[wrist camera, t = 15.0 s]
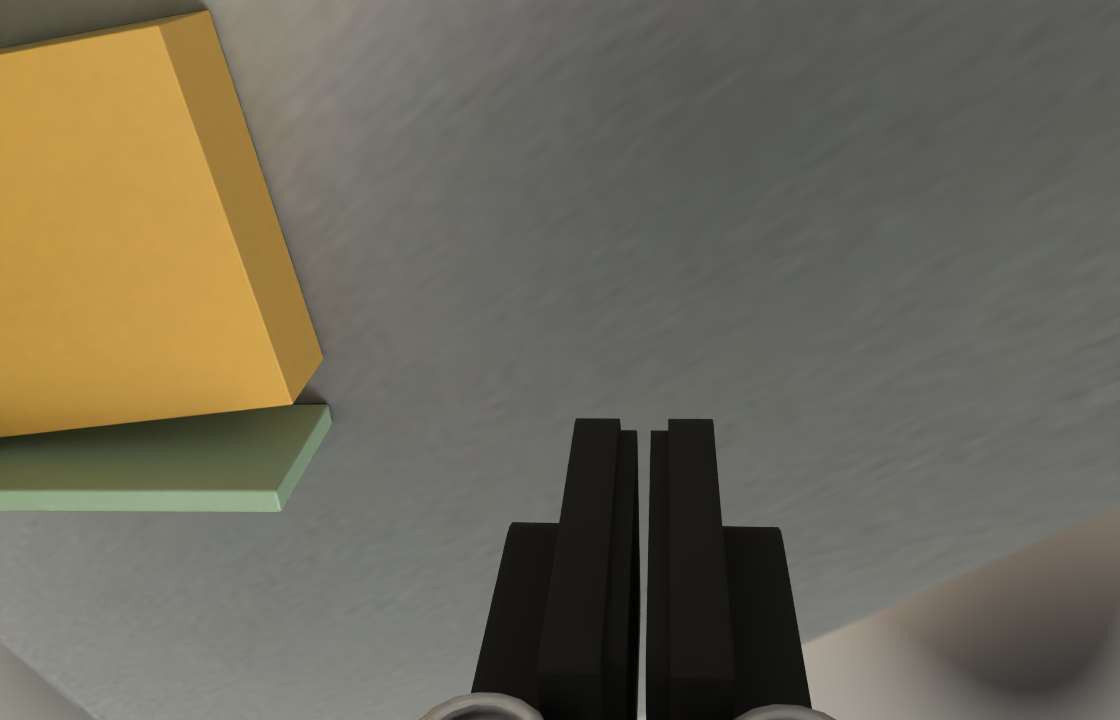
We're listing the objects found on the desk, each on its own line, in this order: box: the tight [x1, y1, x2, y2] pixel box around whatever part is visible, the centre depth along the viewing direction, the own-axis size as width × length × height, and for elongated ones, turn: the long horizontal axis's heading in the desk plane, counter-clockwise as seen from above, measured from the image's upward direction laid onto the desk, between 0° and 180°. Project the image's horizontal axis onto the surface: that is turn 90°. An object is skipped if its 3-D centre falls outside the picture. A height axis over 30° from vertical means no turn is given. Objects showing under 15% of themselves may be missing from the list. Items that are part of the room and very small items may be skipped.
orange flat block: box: [0, 10, 323, 437], centre depth 27 cm, size 15×11×3 cm
